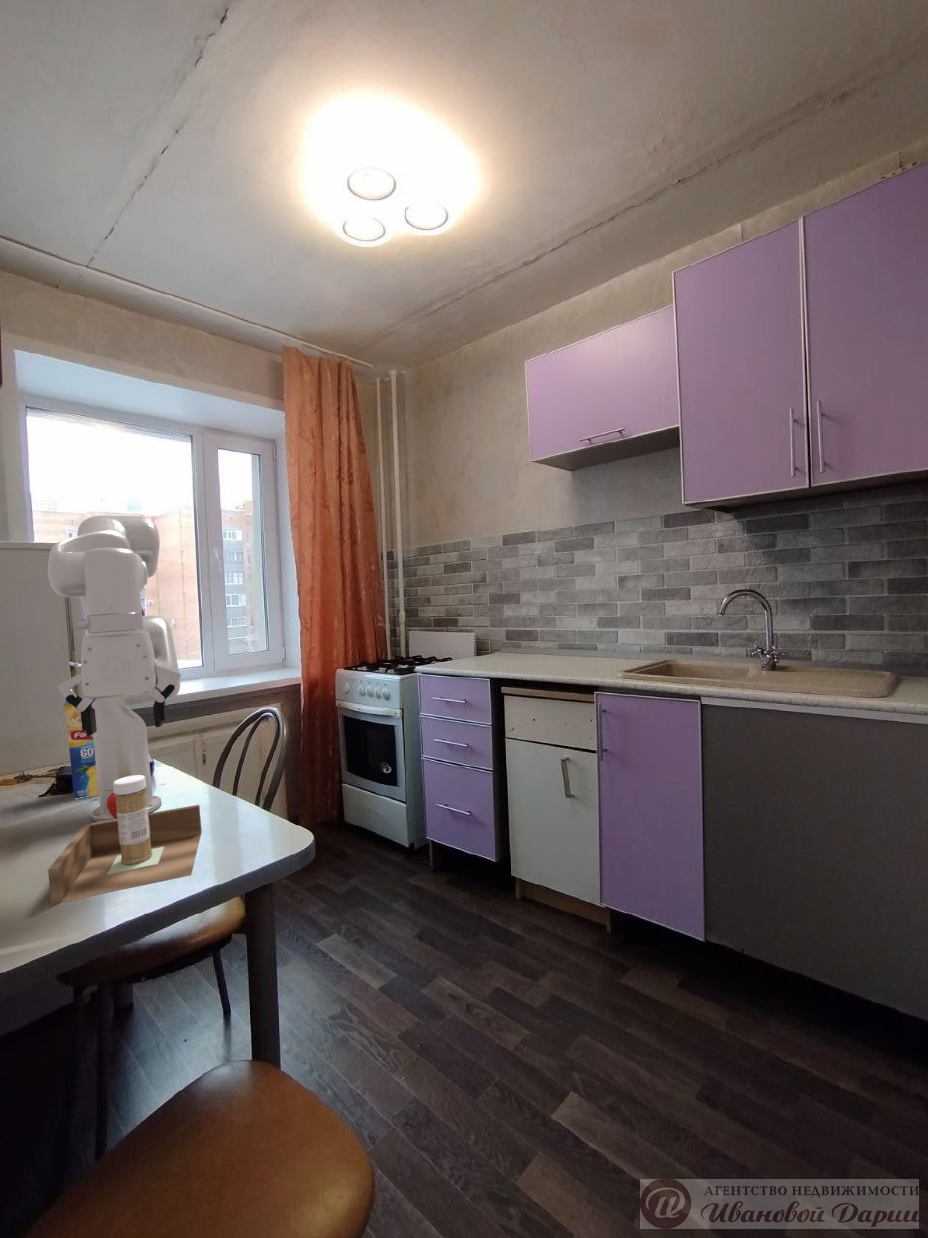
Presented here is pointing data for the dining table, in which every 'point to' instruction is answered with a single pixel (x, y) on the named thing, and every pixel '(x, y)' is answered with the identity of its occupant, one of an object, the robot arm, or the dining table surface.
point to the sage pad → (151, 861)
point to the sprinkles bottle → (132, 819)
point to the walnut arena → (99, 846)
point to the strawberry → (112, 804)
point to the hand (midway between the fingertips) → (126, 729)
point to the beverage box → (81, 755)
